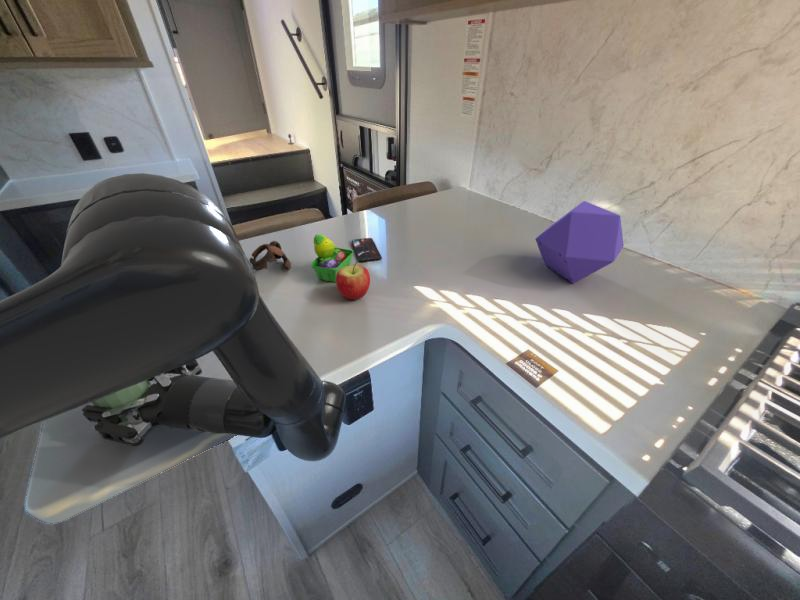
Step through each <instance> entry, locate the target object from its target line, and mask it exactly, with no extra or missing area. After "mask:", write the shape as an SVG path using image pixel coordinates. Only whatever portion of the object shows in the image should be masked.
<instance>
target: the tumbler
mask: <svg viewBox="0 0 800 600" xmlns="http://www.w3.org/2000/svg"><path fill="white" fill-rule="evenodd" d="M151 383H152V382H151V381H149V380H146V381H143V382H141V383H138V384H136V385H133V386H131V387H128V388H125V389H123V390H120V391H118V392H115V393H113V394H110V395H108V396H105V397H103V398H100V399H98V400H95V401H92V402H90V403H91V405H92V406H99V407H106V408H109V409H113V408H117V407H121V406H123V404H124V403H126V402H130V401H134V400H138V399H139V398H140V397H141V396H142V395H143V394H144V393H146V392H147V390H148V389H149V387H150V386H151V385H152V384H151ZM134 410H135V411H136V412H137V413H139V411H138V409H134ZM121 416H124V415H119V416H118V417H121ZM140 423H142V422H139V423H136V424H132V425H137V424H140ZM129 424H131V423H127V424H123V426H127V425H129Z"/></svg>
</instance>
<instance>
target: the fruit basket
mask: <svg viewBox="0 0 800 600" xmlns="http://www.w3.org/2000/svg"><path fill="white" fill-rule="evenodd" d="M313 246H314V253H315V254H316V256H317V257H316V258H315V259H314V260H313V261H312V262H311V263H310V266H311V267H312V269H313V271H314V273H315V274H316V277H317V278H318V279H319V280H323V281H327V282H332V283H336V275H337V272H338V271H339V270H340V269H341V268H343V267H346V266H350V265H351V263H352V257H353V255H354V250H352V249H348V248H342V247H336V245H335V242H333V241H332V240H331V239H329V238H328V237H326V236H325V235H323V234H315V235H314V237H313Z"/></svg>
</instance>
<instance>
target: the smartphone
mask: <svg viewBox="0 0 800 600" xmlns="http://www.w3.org/2000/svg"><path fill="white" fill-rule="evenodd" d="M351 244H352V247H353V249H354V251H355V254H356V257H357V260H359V261H358V262H359V263H366V262H374V261H381V260H382V259H383V257H382V255H381V253H380V251H379V249H378V247H377V244H376V242H375V240H374V239H373V238H372V237H364V238H356V239H355V238H354V239H352V240H351Z"/></svg>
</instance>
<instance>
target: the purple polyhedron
mask: <svg viewBox="0 0 800 600" xmlns="http://www.w3.org/2000/svg"><path fill="white" fill-rule="evenodd" d="M622 228H623V227H622V219H621V215H620V214H618V213H616V212H613V211H610V210H608V209H605V208H602V207H601V206H598V205H595V204H594V203H591V202H588V201H585V200H583V201H581V202H580V203H579V204H578V205H576V206H575V207H573V208H572V209H570V211H568V212H567V213H565V214H564V215H563V216H562V217H560V218H559V219H557V220H556V221H555V222H554V223H552V224H551V225H550V226H549V227H547V228H546V229H545V230H544V231H543V232H541V233H540V234H539V235H537V237H535V242H536V243H537V244H536V245H537V247H538V250H539V253H540V256H541V258H542V261H543V263H544V265H545V266H546V267H547V268H549V269H551V270H552V271H554V273H556V274H558V275H560V276H561V277H562V278H563V279H565V280H568V282H570V283H571V284H572V285H573V284H575V283H577V282H580V281H581V280H583V279H585V278H586V277H589V276H590V275H592V274H594V273H596V272H598V271H599V270H602V269H603V268H605V267H607V266H609V265H610V264H613V263H614V262H615V261H616V259H617V257H618V256H619V254H620V253H621V251H622V249H624V247H625V246H624V236H623V229H622Z"/></svg>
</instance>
